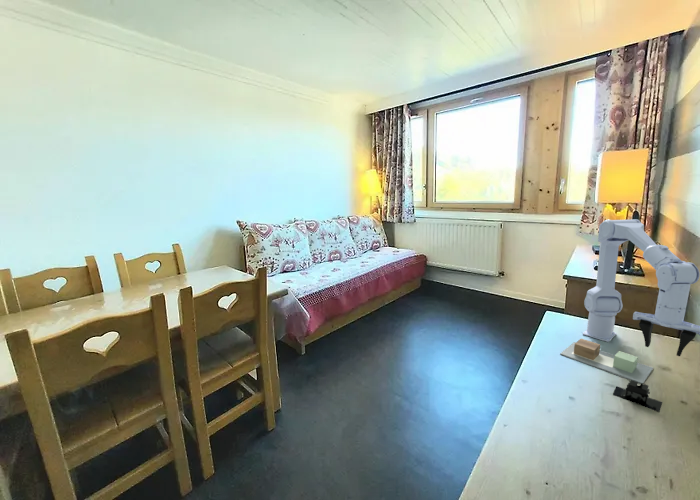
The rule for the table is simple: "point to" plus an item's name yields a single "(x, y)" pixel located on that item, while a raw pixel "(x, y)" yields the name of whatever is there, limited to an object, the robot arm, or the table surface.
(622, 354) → the green block
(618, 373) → the plate
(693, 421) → the table surface
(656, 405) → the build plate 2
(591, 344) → the walnut block
